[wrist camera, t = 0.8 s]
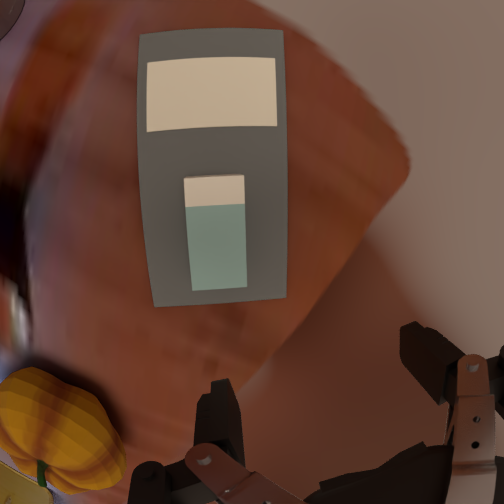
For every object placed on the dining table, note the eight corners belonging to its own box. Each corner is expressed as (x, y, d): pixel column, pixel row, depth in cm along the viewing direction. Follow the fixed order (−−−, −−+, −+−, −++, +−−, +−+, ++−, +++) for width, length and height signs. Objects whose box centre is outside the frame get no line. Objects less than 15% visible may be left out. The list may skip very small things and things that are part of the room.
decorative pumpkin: (159, 423, 36) (153, 511, 22) (79, 456, 37) (63, 519, 23) (51, 325, 30) (-5, 406, 15) (-7, 382, 31) (-44, 442, 17)
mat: (155, 304, 31) (153, 308, 30) (140, 36, 22) (139, 33, 21) (284, 295, 32) (286, 298, 32) (281, 32, 24) (283, 29, 23)
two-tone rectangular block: (193, 278, 30) (192, 290, 27) (186, 176, 27) (183, 178, 24) (243, 274, 30) (247, 286, 28) (240, 173, 27) (244, 175, 25)
